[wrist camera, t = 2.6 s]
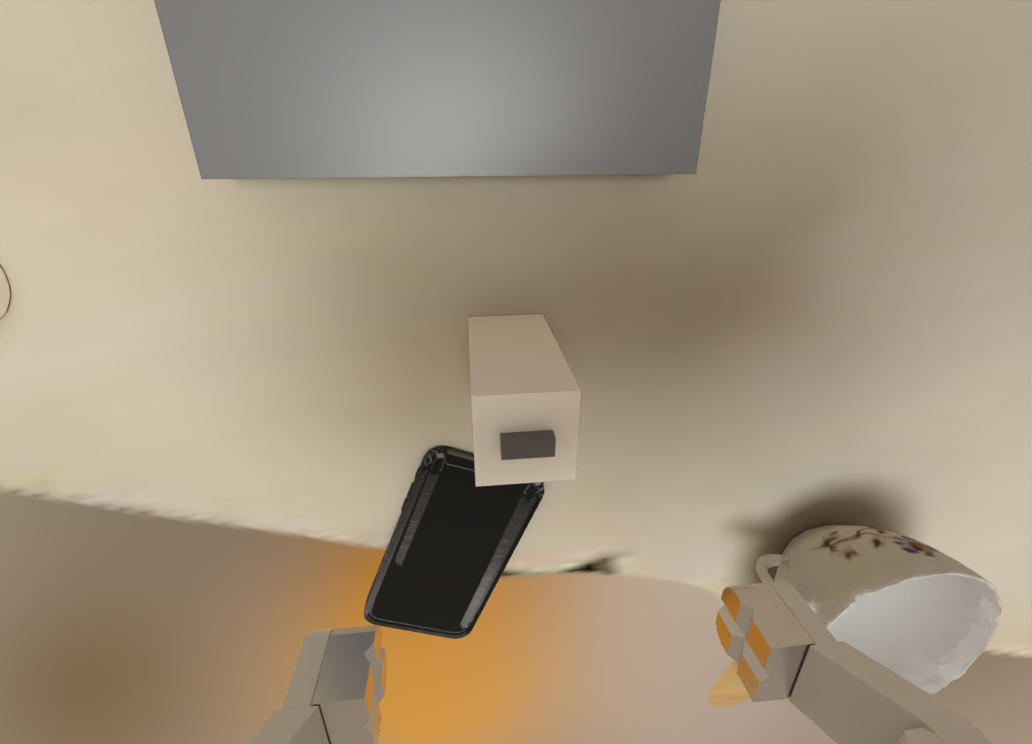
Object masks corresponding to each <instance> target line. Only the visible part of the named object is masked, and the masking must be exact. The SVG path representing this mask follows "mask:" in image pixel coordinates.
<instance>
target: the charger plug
mask: <svg viewBox="0 0 1032 744" xmlns="http://www.w3.org/2000/svg"><path fill="white" fill-rule="evenodd" d="M468 333H469V357H470V382H471V405H472V424H473V443H474V463H475V482H476V487H478V486H492V485H506V484H520V483H534V482H548V481H562V480H576V469H577V452H578V435H579V418H580V402H581V389H580V387H579V385H578V383H577V381H576V379H575V377H574V375H573V373H572V371H571V369H570V367H569V365H568V363H567V361H566V359H565V357H564V355H563V353H562V351H561V349H560V347H559V346H558V344H557V342H556V340H555V338H554V336H553V334H552V332H551V330H550V328H549V326H548V324H547V322H546V320H545V318H544V316H543V314H533V315H507V316H481V317H468Z"/></svg>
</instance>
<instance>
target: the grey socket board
mask: <svg viewBox="0 0 1032 744" xmlns="http://www.w3.org/2000/svg"><path fill="white" fill-rule="evenodd" d="M154 1H155V5H156V9H157V13H158V17H159V20H160V24H161V28H162V32H163V35H164V39H165V43H166V47H167V50H168V54H169V58H170V62H171V66H172V69H173V73H174V77H175V81H176V84H177V88H178V92H179V96H180V99H181V103H182V107H183V111H184V115H185V118H186V122H187V126H188V130H189V133H190V137H191V141H192V145H193V148H194V152H195V156H196V160H197V164H198V167H199V171H200V175H201V179H266V178H359V177H453V176H547V175H641V174H696V168H697V161H698V154H699V147H700V140H701V133H702V126H703V119H704V112H705V105H706V98H707V91H708V84H709V77H710V70H711V63H712V56H713V49H714V42H715V35H716V29H717V22H718V15H719V8H720V1H721V0H154Z"/></svg>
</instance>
